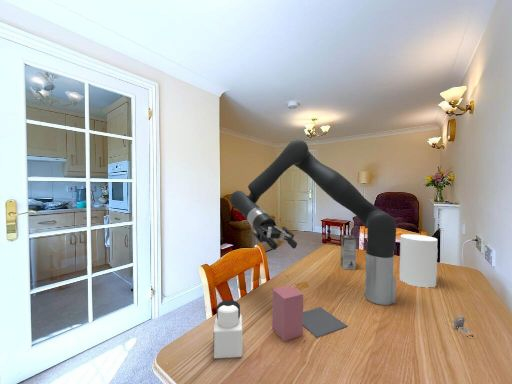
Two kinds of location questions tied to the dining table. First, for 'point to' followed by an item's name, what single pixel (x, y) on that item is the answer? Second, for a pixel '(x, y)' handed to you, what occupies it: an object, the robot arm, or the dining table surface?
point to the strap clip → (460, 324)
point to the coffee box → (348, 251)
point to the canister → (418, 260)
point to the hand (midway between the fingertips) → (286, 246)
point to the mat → (321, 322)
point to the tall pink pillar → (287, 312)
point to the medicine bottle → (228, 330)
